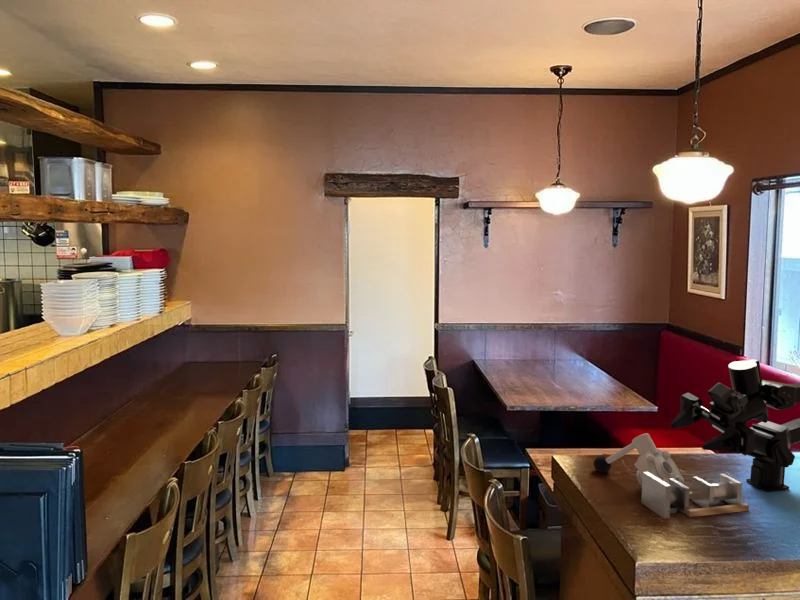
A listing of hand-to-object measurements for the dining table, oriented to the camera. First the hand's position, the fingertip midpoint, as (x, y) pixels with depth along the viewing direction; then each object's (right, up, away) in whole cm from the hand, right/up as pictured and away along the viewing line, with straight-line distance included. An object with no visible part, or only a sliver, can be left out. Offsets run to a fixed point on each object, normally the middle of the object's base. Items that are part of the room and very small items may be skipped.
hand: (686, 436), depth 142 cm
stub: (-6, -15, -4) cm, 16 cm away
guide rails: (+4, -15, -1) cm, 15 cm away
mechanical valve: (-8, -14, +11) cm, 19 cm away
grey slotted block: (+6, -15, -1) cm, 16 cm away
